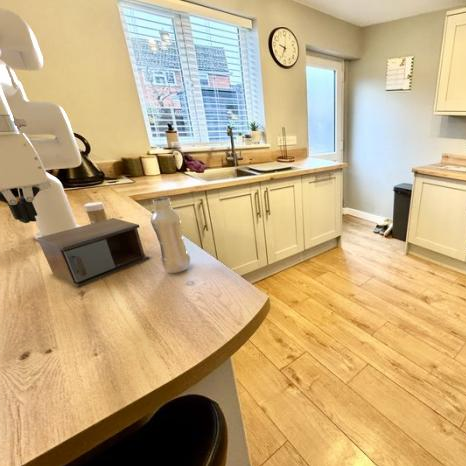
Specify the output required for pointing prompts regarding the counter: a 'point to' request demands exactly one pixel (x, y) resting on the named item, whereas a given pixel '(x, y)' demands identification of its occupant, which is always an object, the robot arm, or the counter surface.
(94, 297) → the counter surface
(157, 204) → the plastic bottle
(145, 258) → the cupboard
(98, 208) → the sprinkles bottle
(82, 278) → the sliding door
